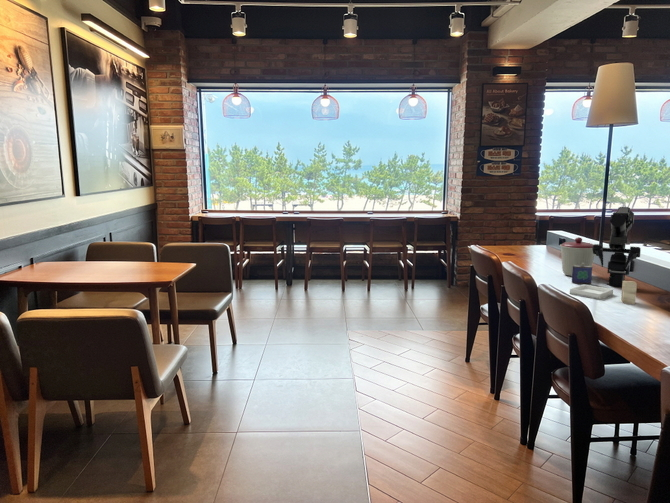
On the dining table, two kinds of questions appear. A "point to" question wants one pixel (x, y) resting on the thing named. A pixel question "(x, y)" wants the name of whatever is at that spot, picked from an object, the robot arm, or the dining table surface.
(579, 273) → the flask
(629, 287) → the maple block
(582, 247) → the canister
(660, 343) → the dining table surface
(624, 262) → the robot arm
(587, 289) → the tray
